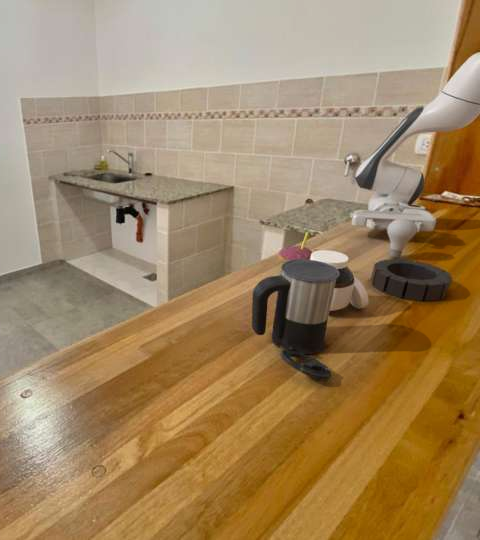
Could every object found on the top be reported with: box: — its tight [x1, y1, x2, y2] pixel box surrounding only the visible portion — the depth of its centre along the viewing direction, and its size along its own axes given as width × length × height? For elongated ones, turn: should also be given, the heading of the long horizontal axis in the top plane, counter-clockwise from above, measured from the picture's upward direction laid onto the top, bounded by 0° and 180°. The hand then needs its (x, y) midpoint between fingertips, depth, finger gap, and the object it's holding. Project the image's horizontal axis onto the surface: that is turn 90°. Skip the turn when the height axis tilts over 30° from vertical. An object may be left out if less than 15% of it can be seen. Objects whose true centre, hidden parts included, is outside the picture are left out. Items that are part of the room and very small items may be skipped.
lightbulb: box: [386, 218, 416, 259], centre depth 100 cm, size 6×6×11 cm
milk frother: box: [251, 259, 339, 381], centre depth 65 cm, size 14×16×15 cm
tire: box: [370, 258, 453, 303], centre depth 87 cm, size 14×14×4 cm
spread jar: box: [310, 249, 369, 315], centre depth 80 cm, size 12×11×12 cm
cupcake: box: [277, 229, 314, 265], centre depth 95 cm, size 9×8×12 cm
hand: (395, 228), depth 106 cm, fingers open, 8 cm apart
